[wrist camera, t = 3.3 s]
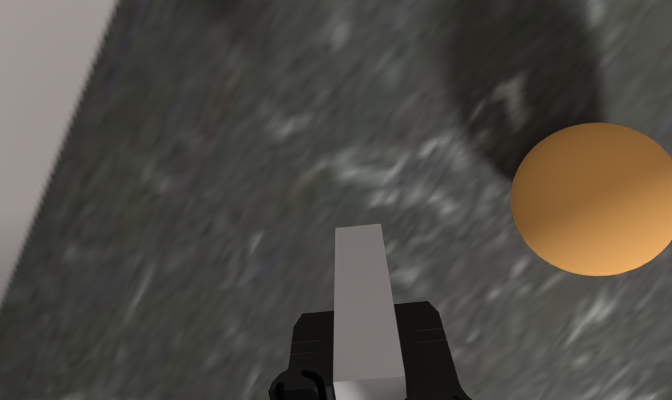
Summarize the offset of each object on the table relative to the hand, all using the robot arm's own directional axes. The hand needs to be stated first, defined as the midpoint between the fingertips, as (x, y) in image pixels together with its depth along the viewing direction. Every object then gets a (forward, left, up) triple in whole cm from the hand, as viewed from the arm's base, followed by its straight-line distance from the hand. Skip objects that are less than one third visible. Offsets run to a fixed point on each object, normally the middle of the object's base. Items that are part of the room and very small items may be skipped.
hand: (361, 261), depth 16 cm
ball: (+9, 0, -3) cm, 10 cm away
